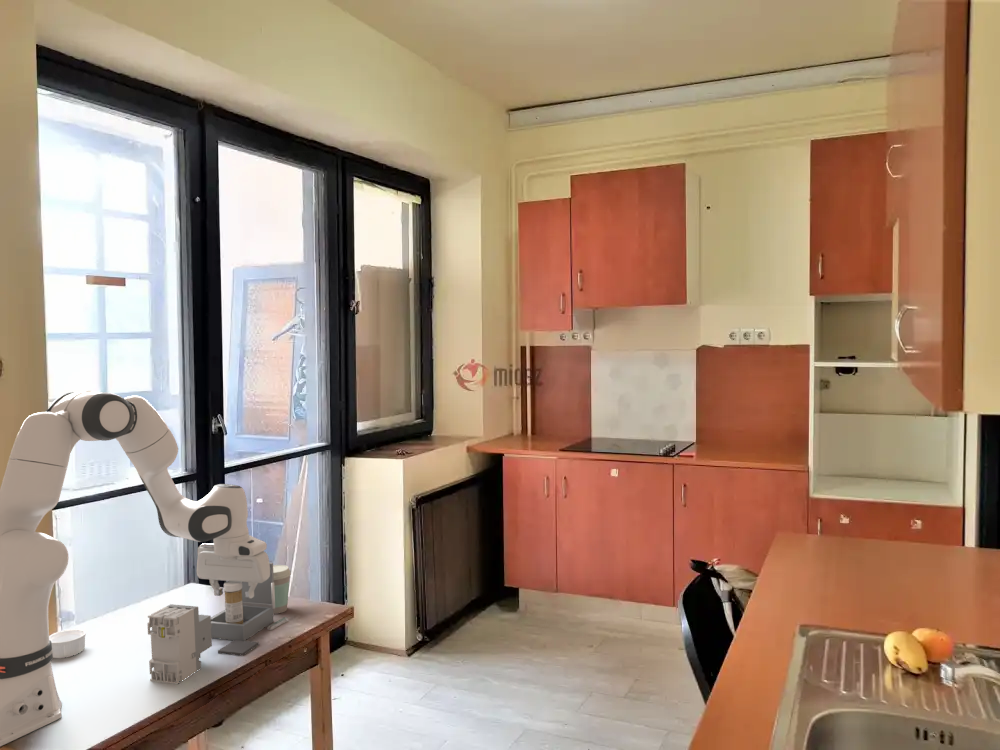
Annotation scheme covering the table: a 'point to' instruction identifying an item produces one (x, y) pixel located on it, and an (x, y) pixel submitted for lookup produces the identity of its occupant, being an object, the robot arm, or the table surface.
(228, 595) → the sprinkles bottle
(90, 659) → the table surface
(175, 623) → the circuit breaker
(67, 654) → the ramekin
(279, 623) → the rod
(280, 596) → the coffee cup
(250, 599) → the case
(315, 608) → the table surface
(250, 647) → the pad
